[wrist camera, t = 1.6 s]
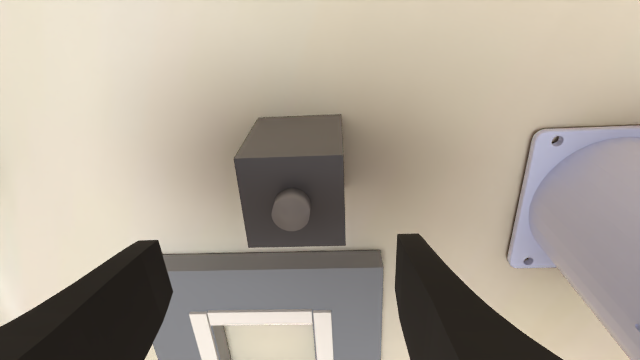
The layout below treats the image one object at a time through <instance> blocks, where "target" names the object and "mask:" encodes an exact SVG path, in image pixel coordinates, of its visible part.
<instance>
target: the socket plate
mask: <svg viewBox="0 0 640 360" xmlns="http://www.w3.org/2000/svg"><path fill="white" fill-rule="evenodd" d="M163 258H164V262H165V265H166V269H167V272H168V275H169V279H170V282H171V286H172V289H173V294H172V297H171V300H170V304H169V307H168V310H167V312H166V315H165V318H164V321H163V323H162V325H161V327H160V329H159V332H158V334H157V336H156V338H155V340H154V342H153V346H154V349H155V352H156V355H157V357H158V360H231V357H230V353H229V349H228V344H227V340H226V335H225V331H224V327H223V325H308V324H313V332H314V344H315V356H316V360H381V332H382V297H383V263H382V257H381V251H380V250H368V251H320V252H271V253H223V254H174V255H163Z"/></svg>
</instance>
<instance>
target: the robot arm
mask: <svg viewBox="0 0 640 360" xmlns="http://www.w3.org/2000/svg"><path fill="white" fill-rule="evenodd" d="M556 136H559V139H558V141H557V142H555V143H552V140H553V138H555V137H556ZM529 257H530V258H529ZM526 258H529V259H528V260H525V259H526ZM524 260H525V261H524ZM507 261H508V262H509V264H510V265H511V266H512V267H513V268H552V267H557V268H558V269H559V271H560V272H561V273H562V274H563V276H564V277H565V278H566V279H567V281H568V282H569V283H570V284H571V286H572V287H573V288H574V289H575V291H576V292H577V293H578V294H579V296H580V297H581V298H582V299H583V301H584V302H585V303H586V304H587V306H588V307H589V308H590V309H591V311H592V312H593V313H594V315H595V316H596V317H597V318H598V320H599V321H600V322H601V323H602V325H603V326H604V327H605V328H606V330H607V331H608V332H609V333H610V335H611V336H612V337H613V338H614V340H615V341H616V342H617V343H618V345H619V346H620V347H621V348H622V350H623V351H624V352H625V353H626V355H627V356H628V357H629V358H630V360H640V125H637V126H610V127H582V128H555V129H542V130H540V131H538V132H536V133H535V135H534V136H533V138H532V142H531V147H530V151H529V156H528V161H527V166H526V171H525V175H524V180H523V185H522V190H521V194H520V199H519V204H518V209H517V214H516V218H515V223H514V228H513V233H512V237H511V242H510V247H509V252H508V256H507ZM395 292H396V299H397V306H398V312H399V319H400V323H401V327H402V331H403V334H404V338H405V342H406V345H407V349H408V353H409V356H410V360H563V359H561V358H560V357H558V356H557V355H555V354H554V353H552V352H551V351H549V350H548V349H546V348H545V347H543V346H542V345H540V344H539V343H537V342H536V341H534V340H533V339H531V338H530V337H529V336H527V335H526V334H524V333H523V332H522V331H520V330H519V329H517V328H516V327H515V326H514V325H512V324H511V323H510V322H508V321H507V320H506V319H505V318H503V317H502V316H501V315H499V314H498V313H497V312H496V311H494V310H493V309H492V308H491V307H490V306H488V305H487V304H486V303H485V302H484V301H483V300H482V299H481V298H480V297H478V296H477V295H476V294H475V293H474V292H473V291H472V290H471V289H470V288H469V287H468V286H467V285H466V284H465V283H464V282H463V281H462V280H461V279H460V278H459V277H458V276H457V275H456V274H455V273H454V272H453V271H452V270H451V269H450V268H449V267H448V266H447V265H446V264H445V263H444V262H443V261H442V259H441V258H440V257H439V256H438V255H437V254H436V253H435V252H434V250H433V249H432V248H431V247H430V246H429V245H428V244H427V242H426V241H425V240H424V239H423V238H422V237H421V236H420V235H419V234H397V254H396V275H395ZM172 294H173V289H172V286H171V282H170V279H169V275H168V272H167V269H166V265H165V262H164V258H163V255H162V252H161V248H160V245H159V241H158V240H144V241H137V242H135V243H134V244H132V245H130V246H129V247H127V248H125V249H124V250H122V251H121V252H119V253H118V254H116V255H115V256H113V257H112V258H110V259H109V260H107V261H106V262H104V263H103V264H101V265H100V266H98V267H97V268H96V269H94V270H93V271H91V272H90V273H88V274H87V275H85V276H84V277H82V278H81V279H79V280H78V281H76V282H75V283H73V284H72V285H70V286H68V287H67V288H65V289H64V290H62V291H60V292H59V293H57V294H56V295H54V296H53V297H51V298H49V299H48V300H46V301H45V302H43V303H41V304H40V305H38V306H37V307H35V308H33V309H32V310H30V311H28V312H26V313H25V314H23V315H21V316H19V317H18V318H16V319H14V320H12V321H10V322H9V323H7V324H5V325H3V326H1V327H0V360H144V359H145V357H146V356H147V354H148V352H149V350H150V348H151V346H152V344H153V342H154V340H155V338H156V336H157V334H158V332H159V329H160V327H161V325H162V323H163V321H164V318H165V315H166V312H167V310H168V307H169V304H170V300H171V297H172Z"/></svg>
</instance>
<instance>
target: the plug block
mask: <svg viewBox="0 0 640 360" xmlns="http://www.w3.org/2000/svg"><path fill="white" fill-rule="evenodd" d="M234 163H235V169H236V175H237V181H238V187H239V193H240V199H241V205H242V211H243V217H244V223H245V229H246V235H247V241H248V247H249V248H254V247H302V246H346V242H345V204H344V166H343V140H342V120H341V114H338V115H313V116H287V117H262V118H258V119H257V120H256V122H255V124H254V126H253V127H252V129H251V131H250V132H249V134H248V136H247V137H246V139H245V141H244V142H243V144H242V146H241V147H240V149H239V151H238V152H237V154H236V156H235V157H234Z"/></svg>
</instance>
